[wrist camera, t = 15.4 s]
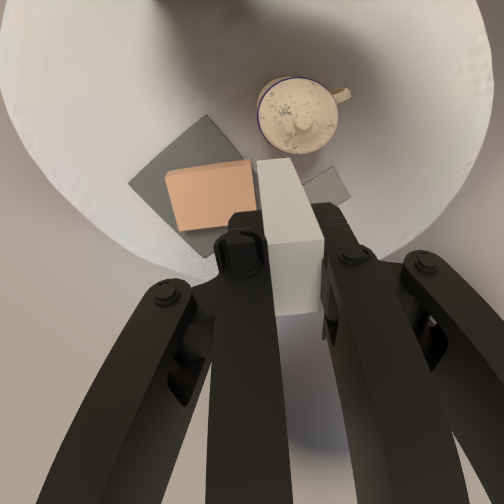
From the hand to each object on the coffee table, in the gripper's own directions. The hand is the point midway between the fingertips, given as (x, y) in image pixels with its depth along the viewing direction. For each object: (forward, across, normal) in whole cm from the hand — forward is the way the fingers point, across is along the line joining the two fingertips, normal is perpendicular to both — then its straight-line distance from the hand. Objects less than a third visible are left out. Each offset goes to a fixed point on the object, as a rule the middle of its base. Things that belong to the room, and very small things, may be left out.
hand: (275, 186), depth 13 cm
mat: (+28, -9, -12) cm, 32 cm away
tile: (+26, -14, -12) cm, 32 cm away
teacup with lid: (+29, +6, 0) cm, 29 cm away
